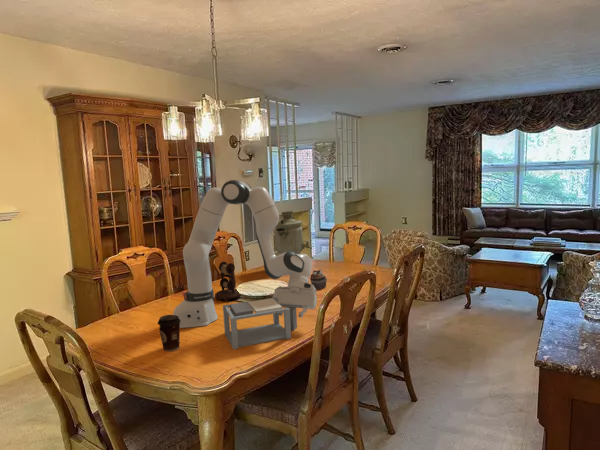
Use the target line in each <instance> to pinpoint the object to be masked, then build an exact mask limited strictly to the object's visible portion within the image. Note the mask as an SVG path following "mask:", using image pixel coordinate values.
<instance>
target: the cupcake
mask: <svg viewBox="0 0 600 450" xmlns="http://www.w3.org/2000/svg"><path fill="white" fill-rule="evenodd" d="M309 278H310V279H309V280H310V284H312V285H313V286H314V287H315V289H316V290H323V289H326V286H327V280H328V278H327V277H326V275H325V273H323V271H322V270H321V269H319V270H313V271H312V273H311V274H310V277H309Z"/></svg>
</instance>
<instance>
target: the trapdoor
mask: <svg viewBox="0 0 600 450" xmlns="http://www.w3.org/2000/svg"><path fill="white" fill-rule="evenodd" d="M271 298H272V297H271ZM264 299H265V300H262V299H258V300H259V301H256V300H251V301H252V302H249V301H243V302H237V303H229V305H230V308H229V309H230V311H231V312H232V314H233V315H234V316H235V317H236V316H242V315H248V314H254V313H260V312H266V311H272V310H279V309H283V307H281V306H280V305H279V304H278V303H277V302H276V301H275V300H274V299H273V298H272V299H269V298H264ZM247 302H248V303H247Z"/></svg>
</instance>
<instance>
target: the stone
mask: <svg viewBox="0 0 600 450" xmlns="http://www.w3.org/2000/svg"><path fill="white" fill-rule="evenodd" d="M286 308H289V309H290V323H291V332H295V330H296V329H297V328H298V319H297V318H298V317H297V316H298V315H297V308H294V307H286Z"/></svg>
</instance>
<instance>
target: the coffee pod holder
mask: <svg viewBox="0 0 600 450" xmlns="http://www.w3.org/2000/svg"><path fill="white" fill-rule="evenodd" d="M218 269H219V271H220V274H219V276H220V277H221V280H220V282H219V286H220V288H221V290H219V291H217V292H215V294H214V299H217V300H225V302H226V303H227V302H228V300H234V299H237V298H241V297H240V296H241V295H240V294H239V292H238V291H237V289H236V285H237V281H236V275H235V272H234V271H235V269H236V267H235V264H234V263H232V262H229V263H227V262H226V261H221V262H220V263H219V265H218Z"/></svg>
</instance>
